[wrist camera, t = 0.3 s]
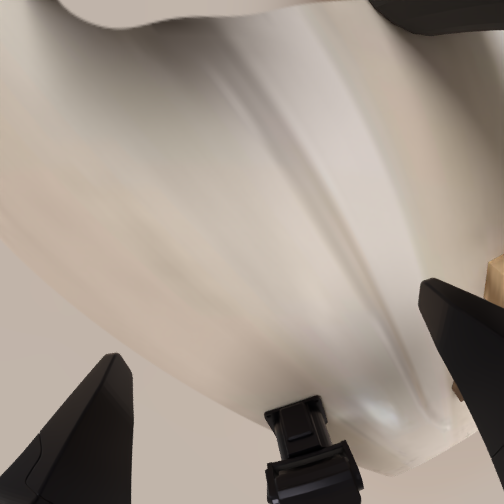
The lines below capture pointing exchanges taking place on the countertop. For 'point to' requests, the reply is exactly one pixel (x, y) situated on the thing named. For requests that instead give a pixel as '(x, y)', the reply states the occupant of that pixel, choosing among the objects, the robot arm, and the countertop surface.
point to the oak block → (495, 282)
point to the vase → (443, 15)
